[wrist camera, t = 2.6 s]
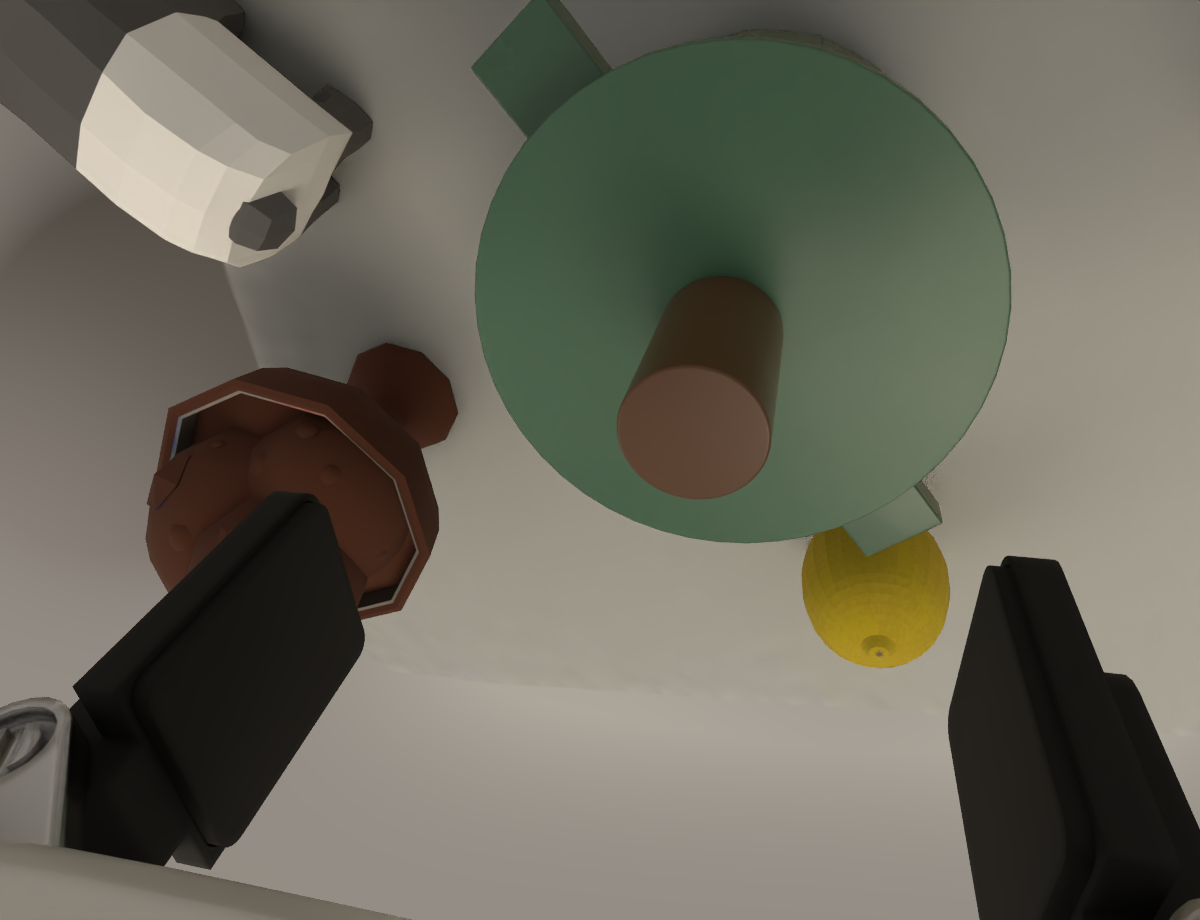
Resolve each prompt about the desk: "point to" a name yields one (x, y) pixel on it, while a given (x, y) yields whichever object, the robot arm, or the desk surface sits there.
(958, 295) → the pot lid
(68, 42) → the giant panda
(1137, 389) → the desk surface
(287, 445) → the ice cream bowl
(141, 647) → the robot arm
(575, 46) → the pot
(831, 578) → the lemon
